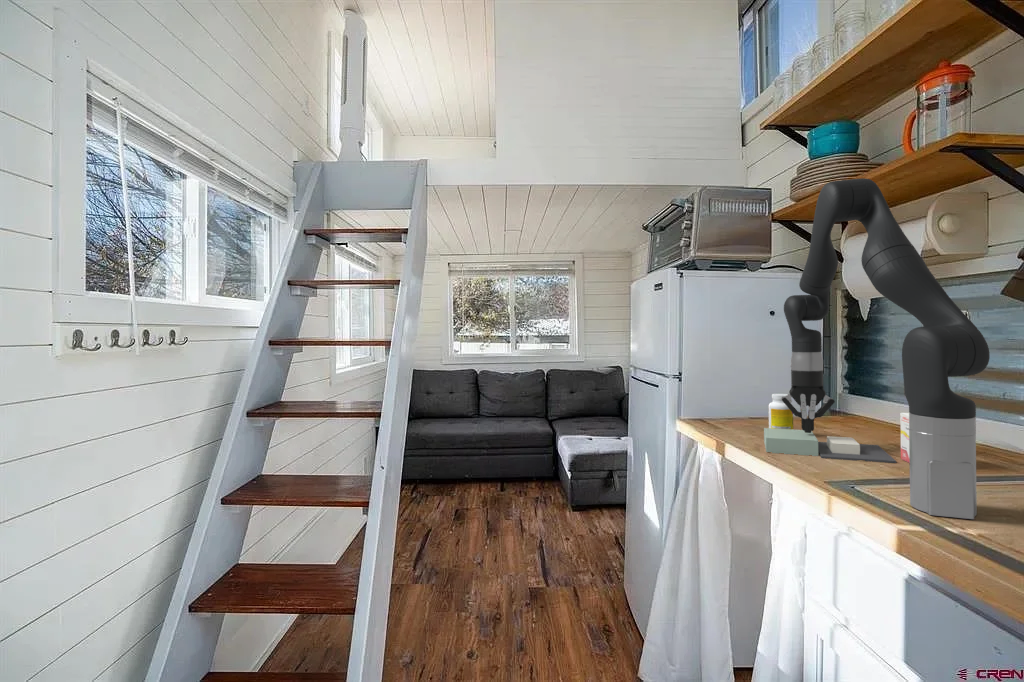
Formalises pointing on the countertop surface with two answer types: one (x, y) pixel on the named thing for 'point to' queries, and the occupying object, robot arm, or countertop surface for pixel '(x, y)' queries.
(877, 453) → the mat
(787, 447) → the block
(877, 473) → the countertop surface
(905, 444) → the ink cartridge box
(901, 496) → the countertop surface
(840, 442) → the tile
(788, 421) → the supplement bottle
